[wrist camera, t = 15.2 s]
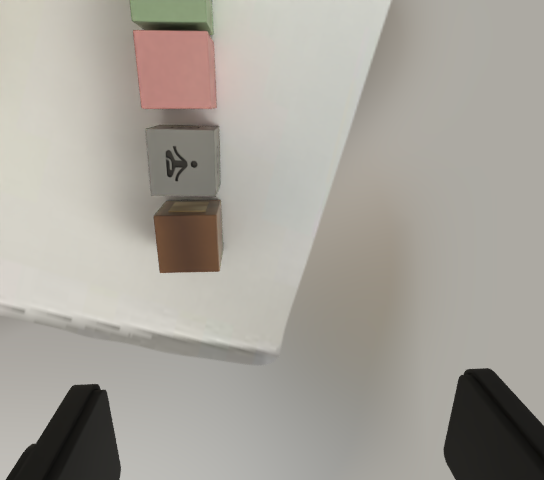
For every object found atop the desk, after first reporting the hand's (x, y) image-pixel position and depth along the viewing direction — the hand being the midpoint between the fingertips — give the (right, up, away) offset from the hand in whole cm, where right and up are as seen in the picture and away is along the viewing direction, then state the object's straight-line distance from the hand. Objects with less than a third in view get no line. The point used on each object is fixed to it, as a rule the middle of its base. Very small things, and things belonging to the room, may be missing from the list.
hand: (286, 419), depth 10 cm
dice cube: (-7, +12, +23) cm, 27 cm away
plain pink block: (-8, +18, +21) cm, 29 cm away
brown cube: (-8, +6, +25) cm, 27 cm away
